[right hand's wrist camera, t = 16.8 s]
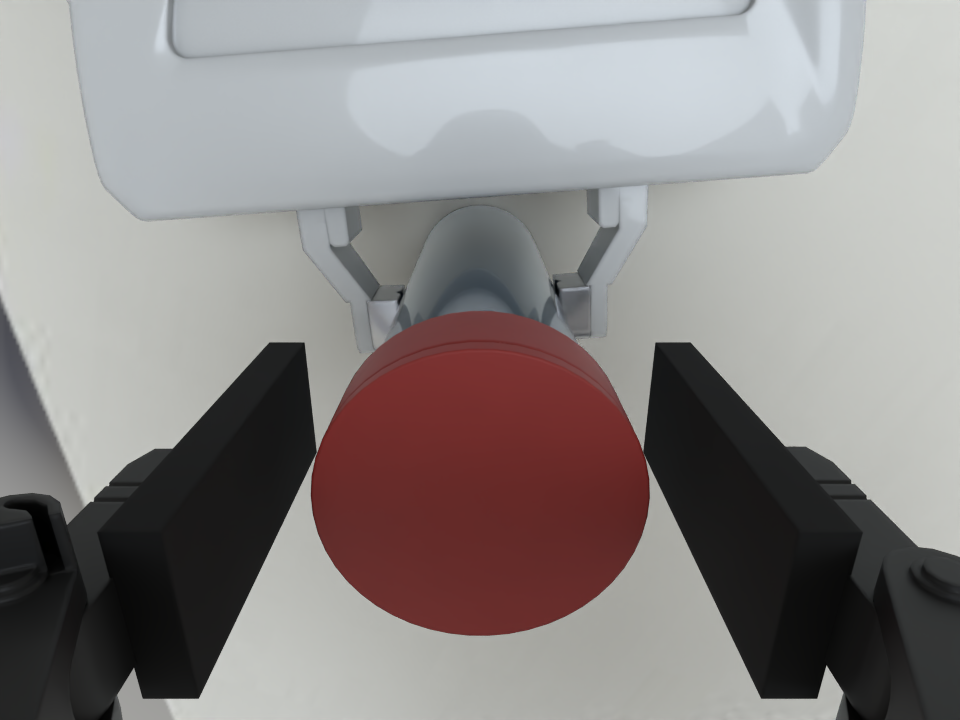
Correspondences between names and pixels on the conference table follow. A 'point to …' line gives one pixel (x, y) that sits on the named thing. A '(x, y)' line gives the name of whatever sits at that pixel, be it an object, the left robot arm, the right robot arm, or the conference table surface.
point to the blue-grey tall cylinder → (480, 272)
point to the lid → (480, 476)
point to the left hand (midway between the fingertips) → (483, 339)
